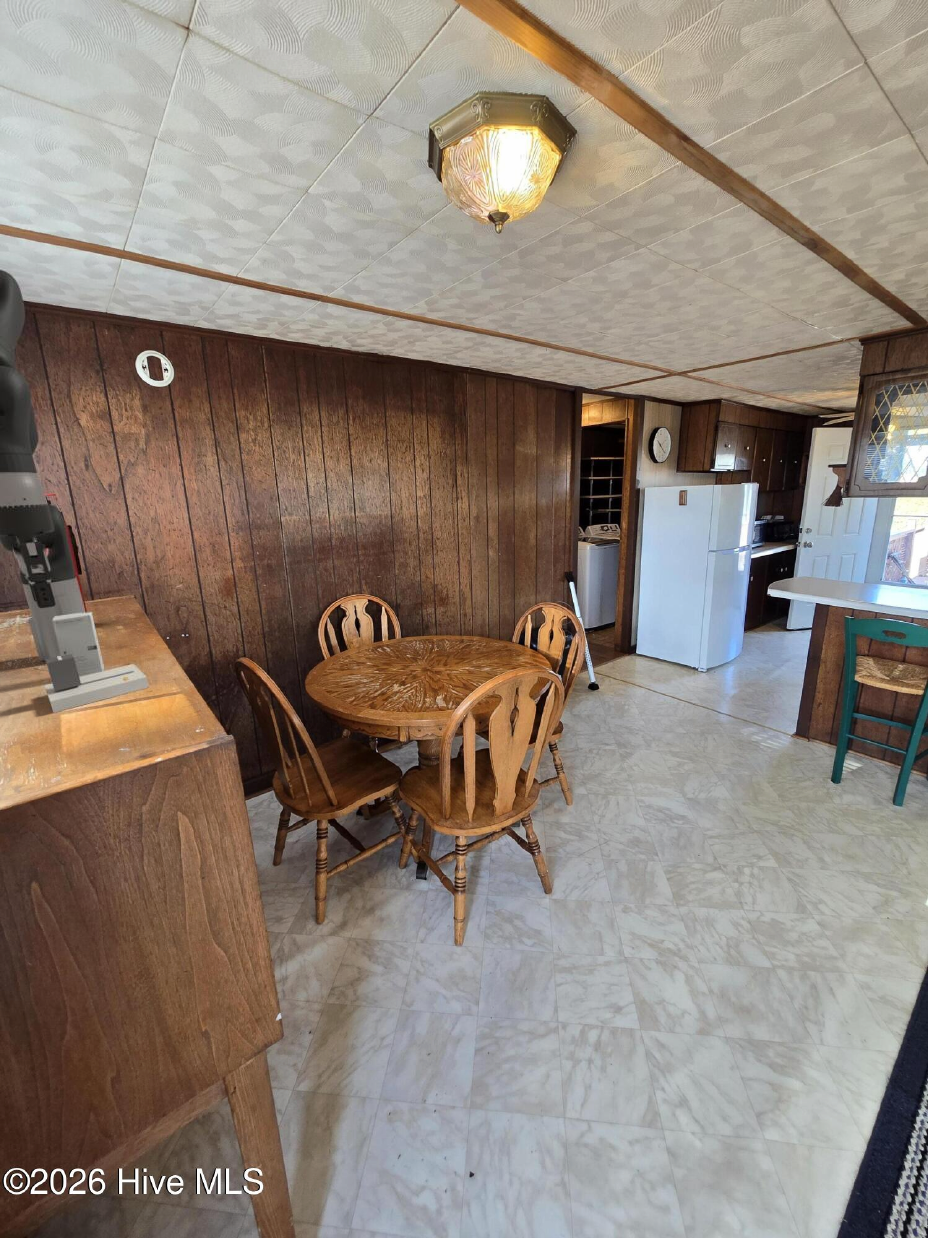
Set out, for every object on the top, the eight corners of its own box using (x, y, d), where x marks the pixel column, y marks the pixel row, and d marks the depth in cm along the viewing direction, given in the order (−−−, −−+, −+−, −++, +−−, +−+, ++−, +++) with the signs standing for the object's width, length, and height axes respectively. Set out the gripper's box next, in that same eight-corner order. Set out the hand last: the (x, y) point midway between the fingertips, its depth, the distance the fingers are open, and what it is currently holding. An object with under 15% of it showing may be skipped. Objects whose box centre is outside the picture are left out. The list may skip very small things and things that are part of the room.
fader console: (53, 712, 80) (50, 701, 80) (47, 695, 88) (44, 684, 88) (149, 687, 89) (146, 676, 89) (135, 673, 97) (133, 663, 96)
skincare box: (66, 681, 95) (49, 620, 92) (68, 674, 99) (52, 616, 96) (105, 673, 98) (89, 614, 95) (106, 667, 102) (91, 610, 99)
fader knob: (55, 691, 83) (46, 662, 82) (53, 686, 85) (45, 659, 84) (81, 684, 86) (73, 656, 84) (78, 680, 88) (71, 653, 86)
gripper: (51, 501, 75) (78, 604, 79) (43, 503, 85) (68, 595, 89) (-16, 504, 70) (17, 614, 74) (-16, 506, 80) (13, 603, 84)
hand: (45, 604), depth 82 cm, fingers open, 8 cm apart
